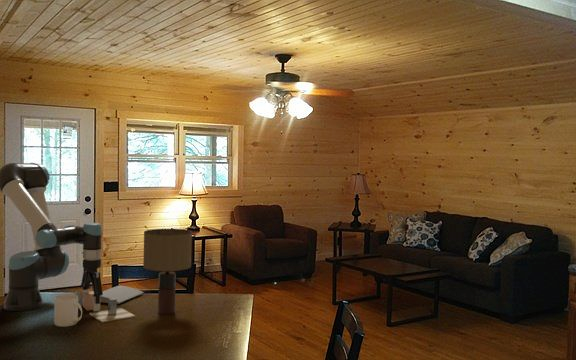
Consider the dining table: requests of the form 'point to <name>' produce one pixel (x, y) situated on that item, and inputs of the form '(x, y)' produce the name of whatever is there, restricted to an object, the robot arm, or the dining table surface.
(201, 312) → the dining table surface
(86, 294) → the pink rectangular block
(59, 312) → the mug
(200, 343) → the dining table surface
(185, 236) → the lamp
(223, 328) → the dining table surface
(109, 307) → the post
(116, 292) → the book
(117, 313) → the board
